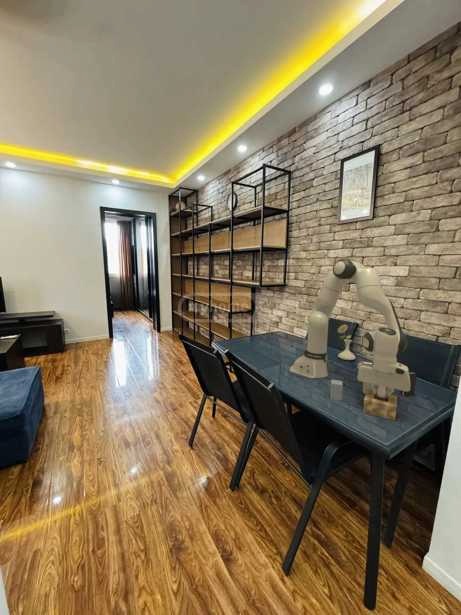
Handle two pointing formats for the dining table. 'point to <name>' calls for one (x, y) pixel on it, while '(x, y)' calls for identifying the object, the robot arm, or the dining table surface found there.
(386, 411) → the socket block
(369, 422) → the dining table surface
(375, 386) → the light bulb box
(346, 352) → the flower in vase
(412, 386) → the battery charger
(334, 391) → the square bit
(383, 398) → the steel peg
